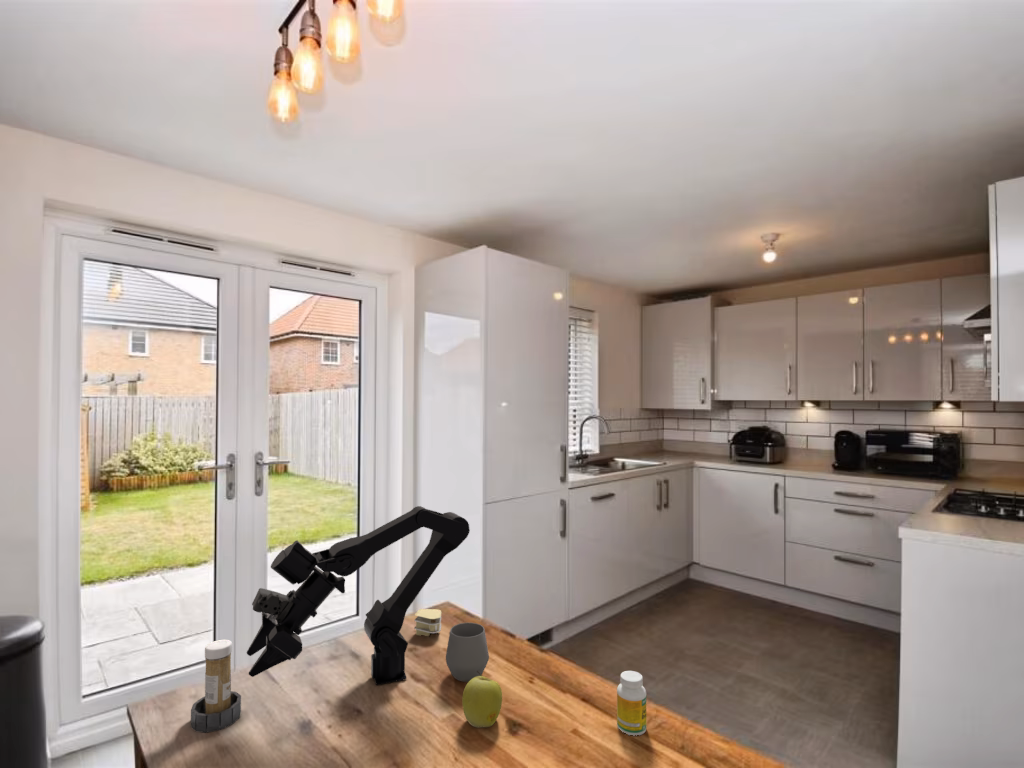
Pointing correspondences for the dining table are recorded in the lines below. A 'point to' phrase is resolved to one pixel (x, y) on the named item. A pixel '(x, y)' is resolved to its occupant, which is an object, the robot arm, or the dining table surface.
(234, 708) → the bottle holder
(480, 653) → the cup
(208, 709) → the sprinkles bottle
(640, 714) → the supplement bottle
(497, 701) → the apple
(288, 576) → the robot arm
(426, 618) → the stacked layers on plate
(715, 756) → the dining table surface
